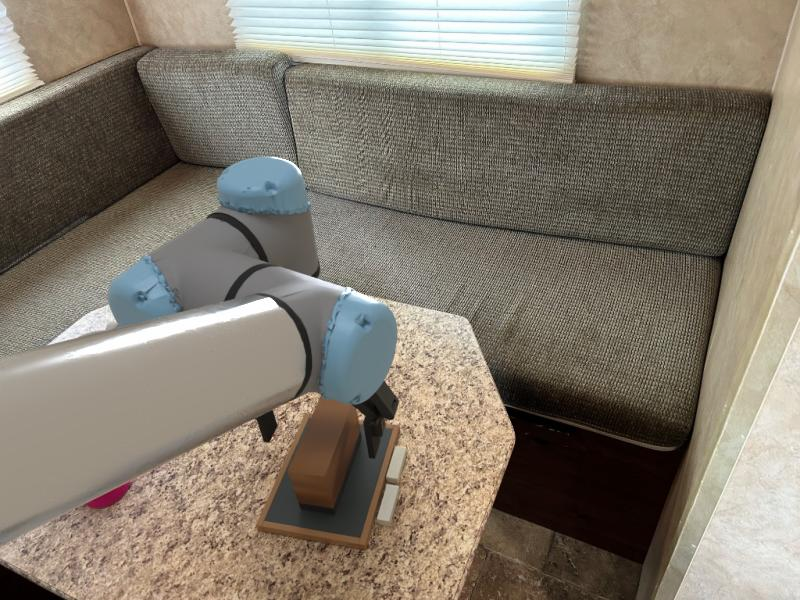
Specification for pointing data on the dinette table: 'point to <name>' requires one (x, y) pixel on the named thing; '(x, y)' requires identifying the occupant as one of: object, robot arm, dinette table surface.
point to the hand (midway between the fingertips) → (321, 441)
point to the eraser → (325, 456)
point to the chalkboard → (354, 505)
